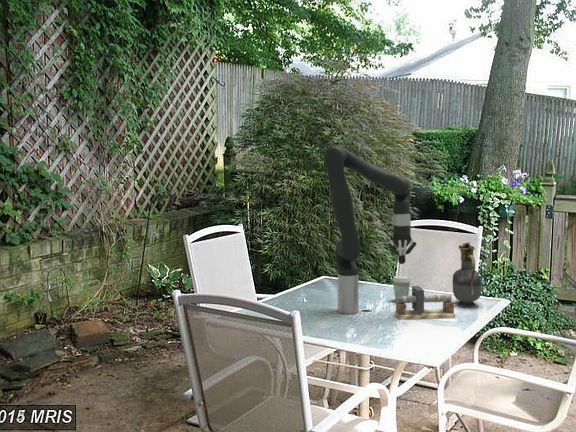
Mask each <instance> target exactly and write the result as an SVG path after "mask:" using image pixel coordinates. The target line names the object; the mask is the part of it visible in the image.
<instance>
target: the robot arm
mask: <svg viewBox="0 0 576 432" xmlns="http://www.w3.org/2000/svg"><path fill="white" fill-rule="evenodd" d="M323 161H324V166H325V169H326V172H327V176H328V183H329V184H328V185H329V192H330V202H331V207H332V208H331V209H332V212H333V216H334V218H335V221H336V223H337V225H338V228H339V231H340V235H341V237H340V238H341V239H339V240H338V241H337V244H336V245H335V266H336V270H337V295H336V297H337V299H336V300H337V311H338V314H346V315H352V314H353V315H354V314H357V313H359V312H360V311H359V310H360V308H359V307H360V305H359V302H360V301H359V298H360V297H359V294H360V293H359V267H358V266H357V264H356V260H357V259H358V258H359V257H360V255H361V251H362V250H361V249H362V248H361V244H360V240H359V236H358V231H357V227H356V219H355V217H356V216H355V211H354V204H353V203H354V202H353V197H352V193H351V190H350V187H349V185H348V182H347V180H346V176H345V168H347V169H349V170H351V171H354V172H355V173H357V174H359V175H360V176H362V177H364V178H365V179H366V180H368V181H370V182H372V183H374V184H376V185H378V186H382V187H384V188H386V189H387V190H389V191H390V192H393V193H394V201H393V205H392V207H393V208H392V210H393V212H392V213H393V214H392V237H391V240H390V241H389V242H388V241H387V243H386V244H387V246H388V247H389V248H390V250H391V251H392V252H393V253H394V254H395V255H397V261H398V263H399V265H404V264H405V263H406V255H409V254H411V252H412V250H414V248H415V247H416V245H417V242H415V241H414V240H413V238H412V236H411V235H412V234H411V233H412V232H411V205H410V204H411V203H410V199H411V183H410V181H409V179H407V178H405V177H400V176H398V175H395V174H394V173H392V172H390V171H389V170H387V169H385V168H382V167H381V166H378V165H376V164H374V163H371V162H369V161H367V160H365V159H363V158H360V157H359V156H357V155H356V154H353V152H350V151H349V150H348V149H346V148H345V147H344V146H341V145H338V144H337V145H332V146H329V147H327V148H326V150H325V151H324V153H323ZM394 245H395V247H396V248H397V250H396V248H395V247H394Z"/></svg>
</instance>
